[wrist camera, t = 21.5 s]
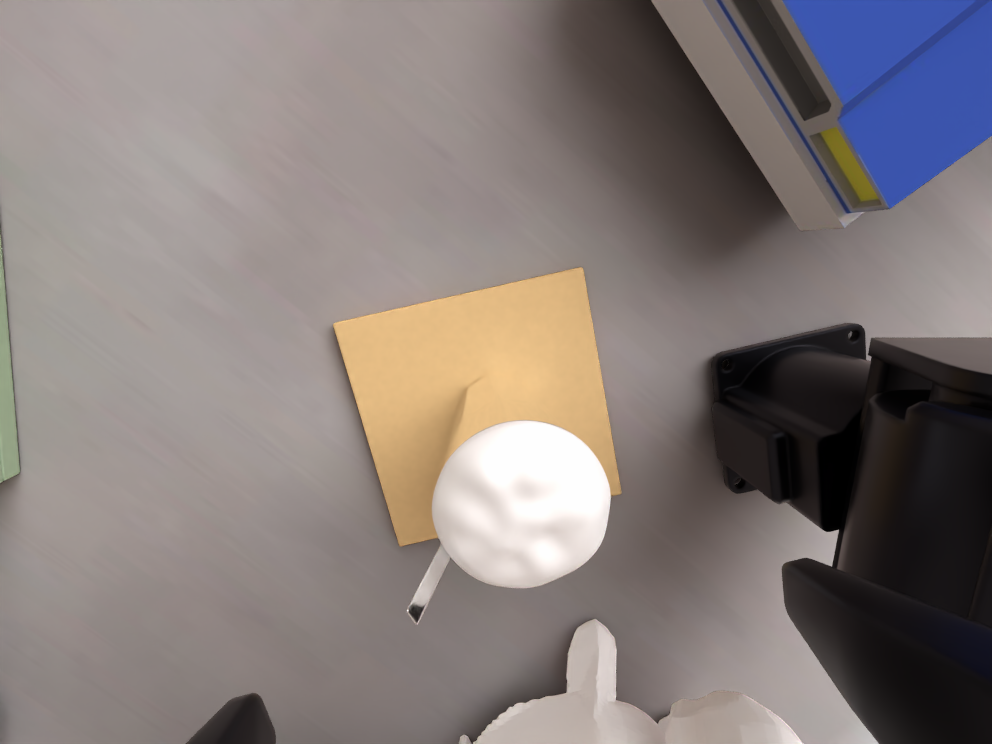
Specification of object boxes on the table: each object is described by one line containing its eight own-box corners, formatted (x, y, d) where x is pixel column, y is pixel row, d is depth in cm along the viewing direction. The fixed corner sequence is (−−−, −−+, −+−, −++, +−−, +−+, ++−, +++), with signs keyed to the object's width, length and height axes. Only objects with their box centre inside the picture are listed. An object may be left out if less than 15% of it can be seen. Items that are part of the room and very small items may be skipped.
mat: (580, 266, 20) (583, 267, 19) (618, 489, 22) (622, 494, 22) (335, 322, 20) (332, 323, 19) (400, 541, 22) (399, 547, 21)
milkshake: (403, 401, 20) (353, 539, 10) (519, 336, 20) (580, 414, 10) (459, 489, 21) (462, 689, 11) (570, 429, 21) (669, 581, 11)
